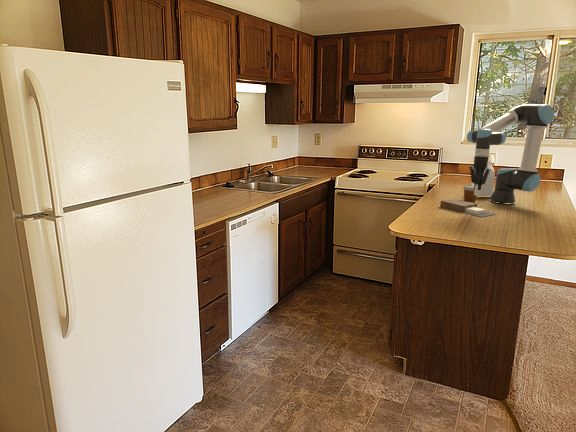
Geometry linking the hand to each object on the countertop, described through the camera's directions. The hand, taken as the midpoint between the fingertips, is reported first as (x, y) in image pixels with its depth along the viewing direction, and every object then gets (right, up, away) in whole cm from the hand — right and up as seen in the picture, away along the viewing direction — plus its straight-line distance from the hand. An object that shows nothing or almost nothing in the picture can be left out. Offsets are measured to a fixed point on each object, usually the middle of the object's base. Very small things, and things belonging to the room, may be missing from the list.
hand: (476, 195), depth 256 cm
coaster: (0, -10, +1) cm, 10 cm away
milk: (+26, +2, +53) cm, 59 cm away
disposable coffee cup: (+5, -5, +24) cm, 25 cm away
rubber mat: (+1, -11, -1) cm, 11 cm away
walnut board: (-7, -8, +11) cm, 15 cm away
